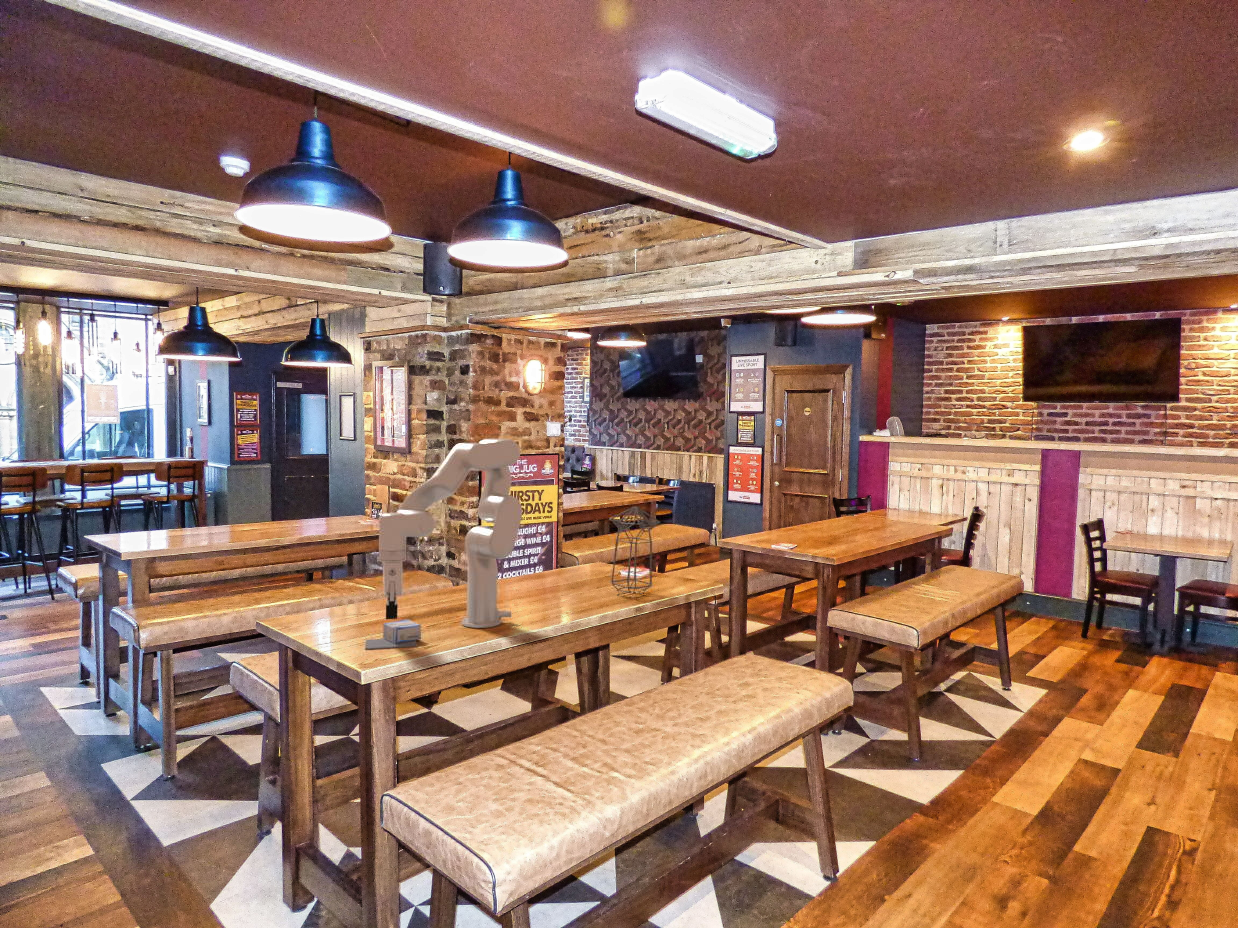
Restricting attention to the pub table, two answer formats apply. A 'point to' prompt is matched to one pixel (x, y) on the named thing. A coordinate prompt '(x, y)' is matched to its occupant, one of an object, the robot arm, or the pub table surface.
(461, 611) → the pub table surface
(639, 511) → the geometric lantern
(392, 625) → the medicine box
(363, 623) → the pub table surface
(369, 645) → the charcoal mat
